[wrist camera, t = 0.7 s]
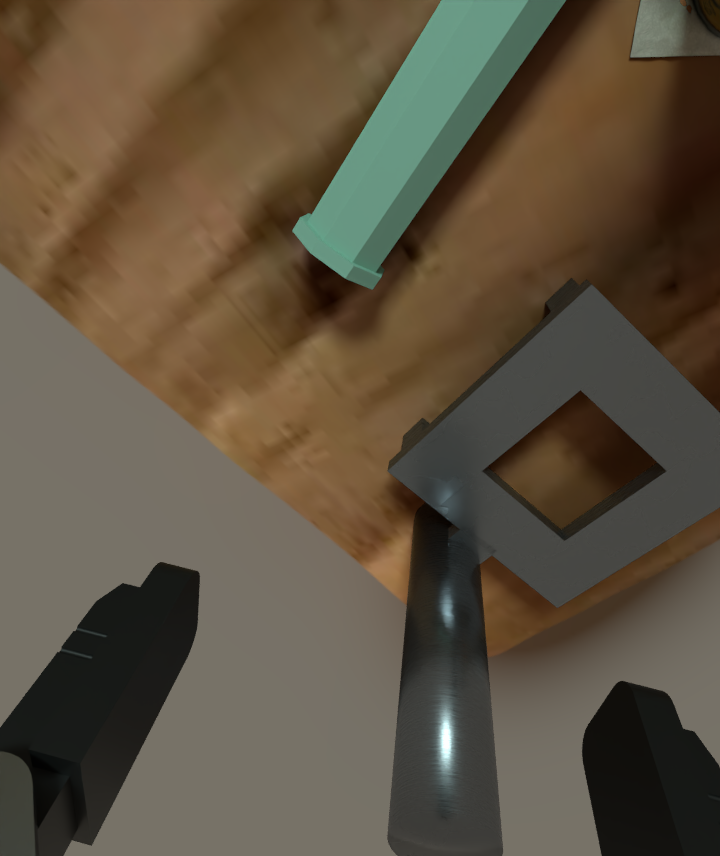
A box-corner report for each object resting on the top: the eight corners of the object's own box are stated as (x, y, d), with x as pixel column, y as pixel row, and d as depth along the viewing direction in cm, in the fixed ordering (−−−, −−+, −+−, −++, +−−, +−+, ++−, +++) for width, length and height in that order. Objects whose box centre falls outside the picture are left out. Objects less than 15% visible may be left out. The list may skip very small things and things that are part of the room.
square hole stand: (572, 265, 32) (760, 448, 13) (738, 432, 36) (1085, 775, 16) (346, 480, 42) (261, 772, 22) (494, 596, 45) (531, 939, 26)
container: (711, -423, 17) (298, 251, 28) (790, -244, 20) (387, 303, 31) (609, -340, 21) (287, 213, 32) (685, -203, 24) (366, 262, 35)
